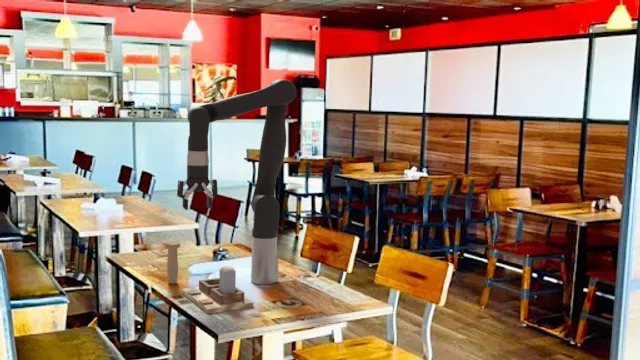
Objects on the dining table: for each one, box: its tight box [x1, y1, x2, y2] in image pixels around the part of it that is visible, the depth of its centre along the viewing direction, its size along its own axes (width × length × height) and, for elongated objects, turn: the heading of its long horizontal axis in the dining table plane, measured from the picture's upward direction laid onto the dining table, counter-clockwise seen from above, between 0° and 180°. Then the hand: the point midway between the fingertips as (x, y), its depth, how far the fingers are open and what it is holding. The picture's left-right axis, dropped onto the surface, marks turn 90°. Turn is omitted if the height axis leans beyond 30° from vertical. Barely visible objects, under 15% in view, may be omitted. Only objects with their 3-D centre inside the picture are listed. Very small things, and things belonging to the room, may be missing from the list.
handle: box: [164, 240, 181, 285], centre depth 237 cm, size 5×6×15 cm
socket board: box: [181, 277, 255, 315], centre depth 220 cm, size 16×24×4 cm, turn 31°
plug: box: [218, 265, 237, 294], centre depth 216 cm, size 4×4×11 cm
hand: (197, 208), depth 233 cm, fingers open, 8 cm apart
